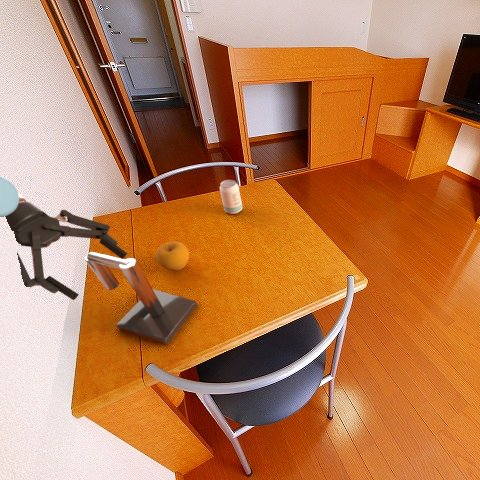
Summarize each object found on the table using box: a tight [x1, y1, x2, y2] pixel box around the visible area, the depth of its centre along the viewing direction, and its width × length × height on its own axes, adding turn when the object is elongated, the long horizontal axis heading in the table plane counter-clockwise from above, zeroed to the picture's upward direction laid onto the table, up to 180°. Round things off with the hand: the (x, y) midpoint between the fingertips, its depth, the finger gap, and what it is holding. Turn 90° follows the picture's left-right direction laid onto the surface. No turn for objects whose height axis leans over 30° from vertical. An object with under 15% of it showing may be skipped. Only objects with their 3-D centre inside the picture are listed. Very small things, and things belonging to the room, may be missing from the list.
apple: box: [154, 241, 190, 271], centre depth 82 cm, size 9×9×9 cm
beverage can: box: [219, 179, 243, 215], centre depth 105 cm, size 7×7×12 cm
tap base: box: [115, 288, 198, 346], centre depth 71 cm, size 14×12×2 cm
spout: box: [84, 251, 164, 317], centre depth 65 cm, size 13×3×18 cm, turn 74°
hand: (102, 275), depth 66 cm, fingers open, 13 cm apart
